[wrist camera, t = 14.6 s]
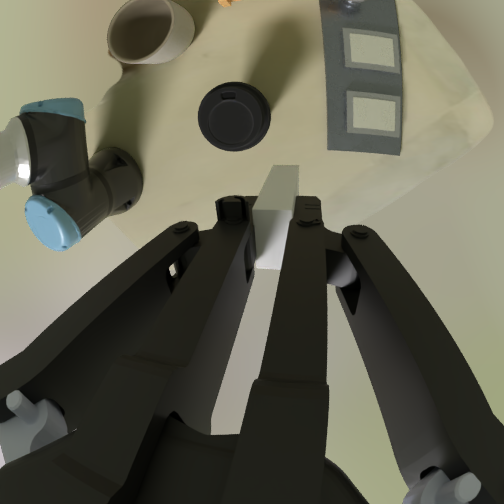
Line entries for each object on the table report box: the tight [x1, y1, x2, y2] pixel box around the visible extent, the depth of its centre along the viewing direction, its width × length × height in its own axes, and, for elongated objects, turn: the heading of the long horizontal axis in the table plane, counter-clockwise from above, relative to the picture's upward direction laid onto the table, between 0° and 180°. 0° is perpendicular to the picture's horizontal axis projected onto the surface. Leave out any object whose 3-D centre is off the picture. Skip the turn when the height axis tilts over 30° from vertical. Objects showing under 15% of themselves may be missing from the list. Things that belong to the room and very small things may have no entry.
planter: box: [107, 0, 195, 64], centre depth 32 cm, size 12×12×11 cm
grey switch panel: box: [319, 0, 402, 156], centre depth 33 cm, size 13×30×5 cm, turn 4°
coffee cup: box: [198, 82, 271, 151], centre depth 37 cm, size 9×9×15 cm
